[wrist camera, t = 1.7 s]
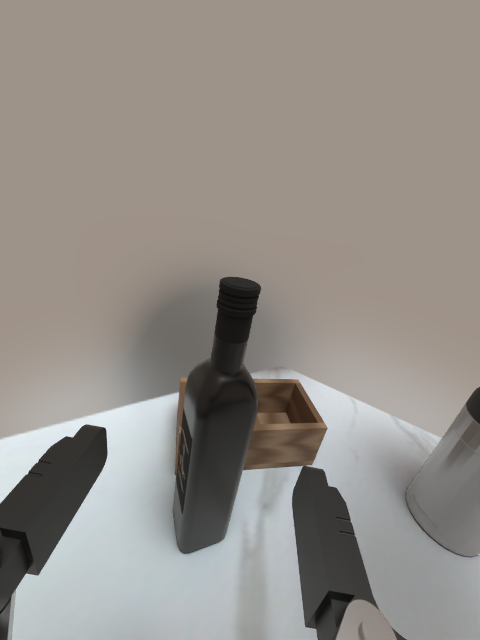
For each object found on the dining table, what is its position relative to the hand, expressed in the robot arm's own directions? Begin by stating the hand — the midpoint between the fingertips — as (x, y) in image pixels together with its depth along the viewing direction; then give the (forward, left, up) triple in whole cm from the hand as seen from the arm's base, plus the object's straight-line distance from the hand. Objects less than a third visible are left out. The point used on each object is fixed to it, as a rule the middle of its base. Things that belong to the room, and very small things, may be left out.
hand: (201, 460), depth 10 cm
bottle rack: (-10, -22, -26) cm, 35 cm away
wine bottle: (-3, -11, -26) cm, 28 cm away
